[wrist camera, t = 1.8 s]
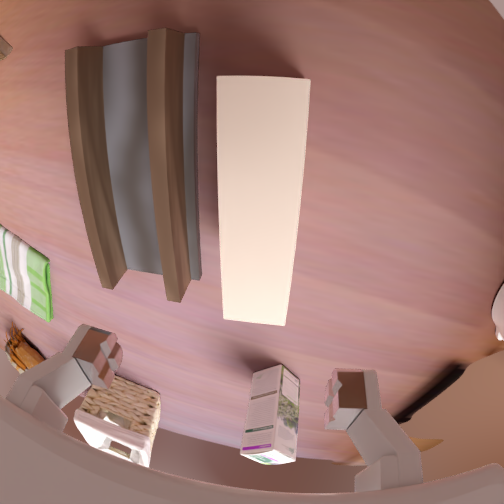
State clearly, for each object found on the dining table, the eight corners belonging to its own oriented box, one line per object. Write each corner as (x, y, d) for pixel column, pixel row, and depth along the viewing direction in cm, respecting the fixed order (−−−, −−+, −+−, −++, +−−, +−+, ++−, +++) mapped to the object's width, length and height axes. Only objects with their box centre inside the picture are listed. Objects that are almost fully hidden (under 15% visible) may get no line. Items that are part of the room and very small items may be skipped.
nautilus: (2, 307, 52) (44, 329, 53) (23, 357, 63) (62, 378, 64) (-15, 327, 45) (27, 353, 46) (11, 376, 56) (51, 399, 57)
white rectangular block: (304, 79, 22) (310, 79, 13) (289, 256, 32) (284, 325, 23) (246, 76, 22) (216, 75, 14) (243, 251, 32) (223, 318, 24)
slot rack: (199, 33, 20) (178, 26, 16) (201, 275, 35) (189, 304, 31) (89, 51, 21) (57, 53, 17) (114, 261, 36) (95, 285, 32)
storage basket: (97, 362, 53) (68, 418, 41) (168, 391, 54) (146, 453, 42) (108, 404, 66) (89, 447, 54) (163, 425, 67) (148, 471, 55)
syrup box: (251, 372, 45) (236, 455, 33) (282, 362, 42) (273, 452, 30) (272, 388, 47) (261, 466, 35) (302, 379, 44) (296, 462, 32)
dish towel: (-27, 200, 35) (-39, 210, 32) (51, 254, 38) (38, 267, 35) (-16, 265, 44) (-25, 274, 42) (56, 317, 48) (47, 329, 45)
